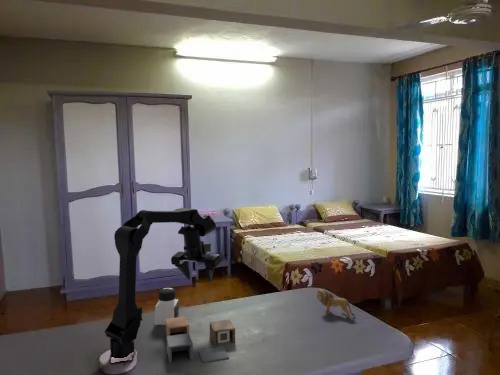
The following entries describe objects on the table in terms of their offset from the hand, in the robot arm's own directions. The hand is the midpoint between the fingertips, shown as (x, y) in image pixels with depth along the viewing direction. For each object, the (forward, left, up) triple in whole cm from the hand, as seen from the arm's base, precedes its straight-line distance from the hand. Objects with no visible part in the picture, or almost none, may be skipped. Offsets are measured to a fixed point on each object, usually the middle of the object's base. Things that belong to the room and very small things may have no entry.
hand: (199, 280), depth 146 cm
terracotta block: (-10, -11, -15) cm, 21 cm away
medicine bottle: (-12, +2, -15) cm, 19 cm away
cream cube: (+4, -18, -15) cm, 24 cm away
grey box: (-11, -24, -15) cm, 30 cm away
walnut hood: (+4, -18, -15) cm, 24 cm away
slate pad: (-1, -27, -15) cm, 31 cm away
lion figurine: (+50, -11, -15) cm, 54 cm away
